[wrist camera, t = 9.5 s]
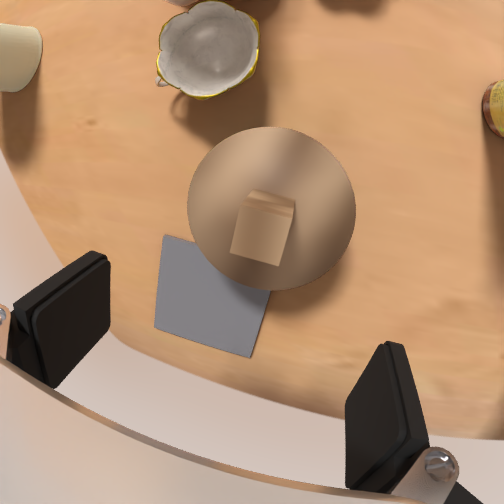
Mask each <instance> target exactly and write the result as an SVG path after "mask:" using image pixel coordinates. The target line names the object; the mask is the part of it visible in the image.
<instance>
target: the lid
mask: <svg viewBox="0 0 504 504" xmlns="http://www.w3.org/2000/svg"><path fill="white" fill-rule="evenodd" d="M187 213H188V220H189V225H190V228H191V232H192V235H193V237H194V239H195V242H196V244H197V245H198V247H199V249H200V251H201V252H202V253H203V255H204V256H205V257H206V259H207V260H208V261H209V262H210V263H211V264H212V265H213V266H214V267H215V268H216V269H217V270H218V271H220V272H221V273H222V274H224V275H225V276H227V277H228V278H230V279H232V280H234V281H236V282H238V283H240V284H242V285H245V286H248V287H252V288H256V289H261V290H286V289H292V288H296V287H300V286H303V285H305V284H308V283H310V282H312V281H314V280H316V279H317V278H319V277H321V276H322V275H323V274H325V273H326V272H327V271H329V270H330V269H331V268H332V267H333V266H334V265H335V264H336V263H337V261H338V260H339V259H340V258H341V256H342V255H343V253H344V252H345V250H346V248H347V246H348V244H349V242H350V239H351V237H352V233H353V230H354V225H355V218H356V204H355V197H354V192H353V189H352V185H351V182H350V180H349V178H348V176H347V174H346V172H345V170H344V168H343V167H342V165H341V164H340V162H339V161H338V160H337V159H336V157H335V156H334V155H333V154H332V153H331V152H330V151H329V150H328V149H327V148H326V147H324V146H323V145H322V144H321V143H319V142H318V141H316V140H315V139H313V138H311V137H309V136H307V135H305V134H303V133H301V132H298V131H295V130H292V129H286V128H281V127H259V128H252V129H248V130H244V131H241V132H239V133H236V134H233V135H232V136H230V137H228V138H226V139H224V140H223V141H221V142H220V143H219V144H217V145H216V146H215V147H214V148H213V149H212V150H211V151H210V152H209V153H208V154H207V155H206V156H205V157H204V159H203V160H202V161H201V163H200V164H199V166H198V168H197V169H196V171H195V173H194V176H193V178H192V181H191V184H190V188H189V192H188V201H187Z"/></svg>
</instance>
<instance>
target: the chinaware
mask: <svg viewBox="0 0 504 504" xmlns="http://www.w3.org/2000/svg"><path fill="white" fill-rule="evenodd" d="M164 1H166V2H169V3H171V4H173V5H176V6H187V5H190V4H192V3H194V2H196V1H198V0H164ZM259 44H260V31H259V23H258V21H257V20H256V19H255V18H253V17H252V16H251V15H249V14H248V13H246V12H244V11H241V10H239V9H237V10H235V8H234V7H233V6H231V5H229V4H228V3H226V2H223V1H219V0H205V1H202V2H199V3H197V4H195V5H194V6H193V7H192V8H190V9H189V10H188V13H187V12H184V13H181V14H178V15H176V16H174V17H172V18H171V19H170V20H169V21H168V22H166V23H165V24H164V25H163V26H162V29H161V33H160V35H159V49H160V50H161V52H159V54H158V58H157V61H156V65H157V74H158V77H156V79H155V83H156V85H157V86H158V87H163V86H167V85H171V86H173V87H175V88H177V89H180V91H182V92H183V93H184V94H186V95H187V96H190V97H192V98H196V99H197V100H206V99H208V98H212V97H215V96H217V95H219V94H222V93H224V92H226V91H228V89H232V88H234V87H235V86H237V85H239V84H241V83H243V82H244V81H245V80H246V79H248V78H250V77H251V76H252V75H253V74H254V72H255V68H256V65H257V62H258V55H259V49H258V48H259ZM161 79H163V80H164V81H165V82H160V81H161Z"/></svg>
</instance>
